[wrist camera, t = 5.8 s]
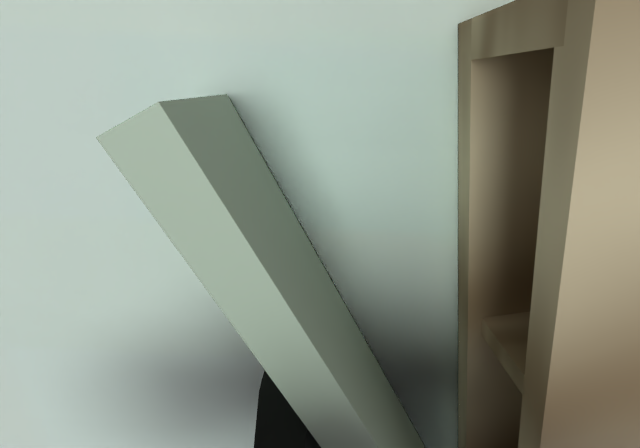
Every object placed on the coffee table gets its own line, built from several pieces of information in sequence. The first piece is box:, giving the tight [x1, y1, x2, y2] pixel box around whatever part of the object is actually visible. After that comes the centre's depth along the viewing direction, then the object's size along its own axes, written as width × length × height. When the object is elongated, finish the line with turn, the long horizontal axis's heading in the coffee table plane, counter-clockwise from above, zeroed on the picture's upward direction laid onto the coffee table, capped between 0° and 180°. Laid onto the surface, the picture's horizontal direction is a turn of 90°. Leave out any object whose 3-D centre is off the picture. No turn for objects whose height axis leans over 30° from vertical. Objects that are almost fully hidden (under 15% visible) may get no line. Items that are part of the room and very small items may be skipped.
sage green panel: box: [96, 94, 425, 448], centre depth 9 cm, size 16×1×4 cm, turn 27°
